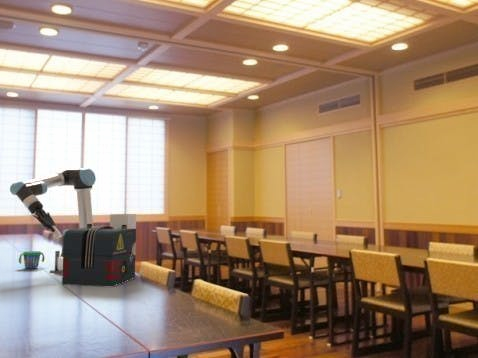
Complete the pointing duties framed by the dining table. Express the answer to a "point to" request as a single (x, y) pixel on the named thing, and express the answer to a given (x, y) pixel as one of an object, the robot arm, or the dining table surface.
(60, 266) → the swing panel
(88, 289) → the dining table surface
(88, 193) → the robot arm
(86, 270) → the power unit
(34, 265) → the snack cup
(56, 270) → the panel post
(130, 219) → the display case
